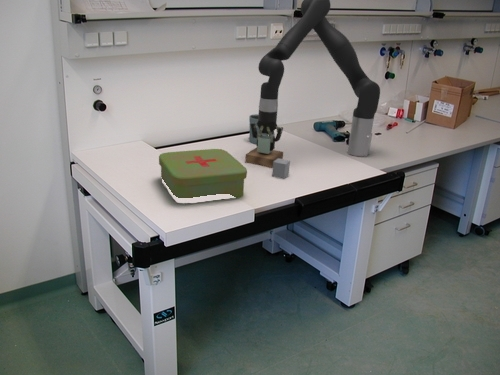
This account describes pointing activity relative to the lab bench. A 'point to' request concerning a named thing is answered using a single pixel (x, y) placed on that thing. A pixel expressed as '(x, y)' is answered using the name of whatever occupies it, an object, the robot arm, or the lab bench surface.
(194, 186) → the first aid kit
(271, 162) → the walnut block
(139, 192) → the lab bench surface
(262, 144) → the green block
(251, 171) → the lab bench surface
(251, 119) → the grey-green plant pot
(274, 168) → the grey block
